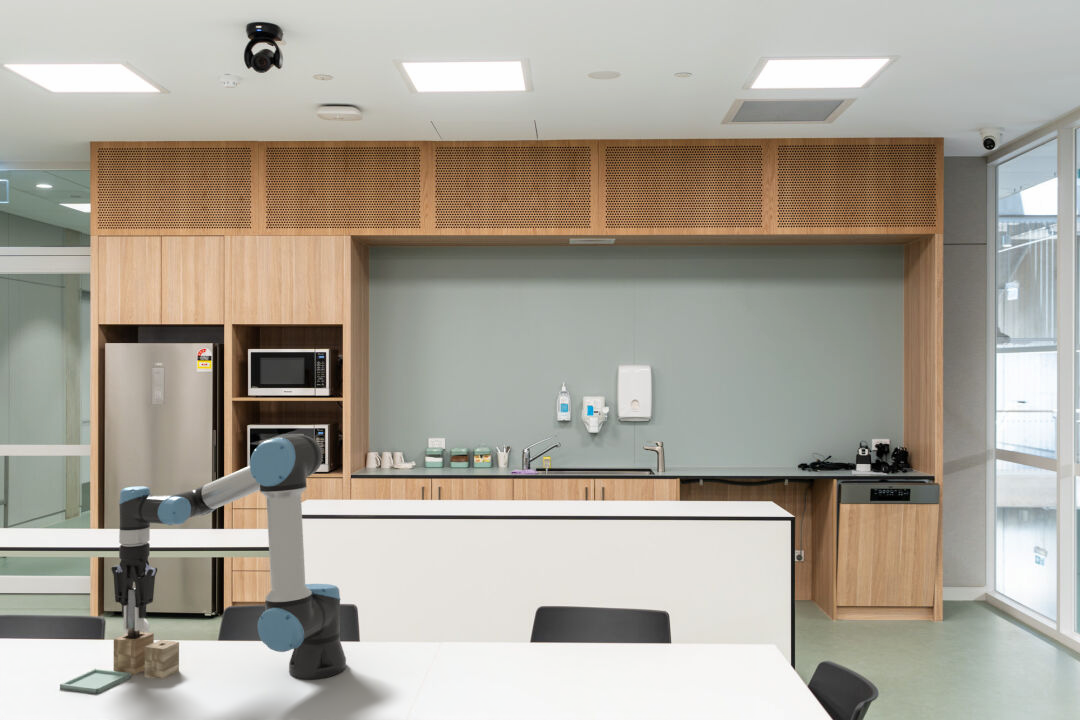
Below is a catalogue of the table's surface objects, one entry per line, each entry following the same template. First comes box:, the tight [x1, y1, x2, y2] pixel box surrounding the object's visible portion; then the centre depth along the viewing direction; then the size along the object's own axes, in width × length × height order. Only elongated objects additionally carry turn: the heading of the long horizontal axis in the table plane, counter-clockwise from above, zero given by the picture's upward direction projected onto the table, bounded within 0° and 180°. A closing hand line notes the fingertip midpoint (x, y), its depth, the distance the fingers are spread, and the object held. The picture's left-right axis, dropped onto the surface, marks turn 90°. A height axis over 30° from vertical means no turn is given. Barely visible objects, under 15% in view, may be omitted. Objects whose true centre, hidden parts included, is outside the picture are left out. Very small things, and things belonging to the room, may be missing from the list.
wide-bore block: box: [113, 632, 155, 675], centre depth 227 cm, size 7×7×9 cm
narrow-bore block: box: [144, 639, 180, 680], centre depth 224 cm, size 6×6×8 cm
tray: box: [59, 668, 132, 695], centre depth 217 cm, size 12×12×1 cm
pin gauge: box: [128, 587, 140, 639], centre depth 227 cm, size 3×3×15 cm
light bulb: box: [123, 618, 150, 635], centre depth 238 cm, size 7×7×11 cm
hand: (133, 628), depth 227 cm, fingers closed on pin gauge, 3 cm apart
